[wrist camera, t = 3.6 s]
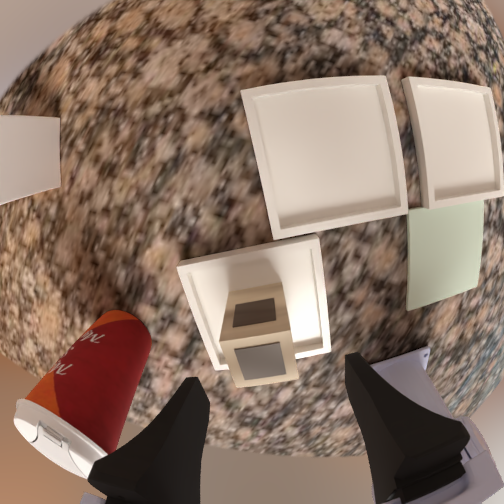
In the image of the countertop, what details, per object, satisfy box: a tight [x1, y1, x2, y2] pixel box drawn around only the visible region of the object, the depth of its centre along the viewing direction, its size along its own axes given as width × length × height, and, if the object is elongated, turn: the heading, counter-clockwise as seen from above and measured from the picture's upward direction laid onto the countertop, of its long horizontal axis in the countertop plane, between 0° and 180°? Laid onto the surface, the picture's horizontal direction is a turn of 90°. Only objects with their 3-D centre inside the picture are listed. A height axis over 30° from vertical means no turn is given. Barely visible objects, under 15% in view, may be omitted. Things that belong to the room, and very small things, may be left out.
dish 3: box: [401, 77, 504, 210], centre depth 16 cm, size 10×10×1 cm
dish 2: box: [177, 234, 331, 370], centre depth 21 cm, size 10×10×1 cm
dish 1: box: [240, 76, 408, 240], centre depth 17 cm, size 10×10×1 cm
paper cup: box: [14, 310, 152, 479], centre depth 16 cm, size 8×8×14 cm
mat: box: [406, 200, 484, 311], centre depth 19 cm, size 9×9×1 cm
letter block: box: [219, 282, 299, 388], centre depth 18 cm, size 4×4×6 cm
